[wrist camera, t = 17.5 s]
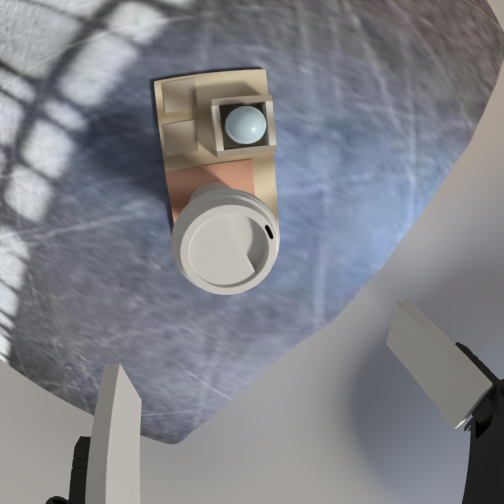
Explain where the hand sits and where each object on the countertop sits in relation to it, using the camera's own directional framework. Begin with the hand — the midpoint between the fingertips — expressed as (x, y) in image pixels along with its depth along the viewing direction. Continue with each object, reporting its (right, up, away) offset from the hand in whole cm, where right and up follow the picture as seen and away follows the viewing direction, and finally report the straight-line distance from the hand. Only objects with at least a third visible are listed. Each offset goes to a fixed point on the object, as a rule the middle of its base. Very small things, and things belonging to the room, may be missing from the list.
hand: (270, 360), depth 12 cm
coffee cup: (-6, +11, +24) cm, 27 cm away
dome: (-2, +20, +20) cm, 28 cm away
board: (-5, +17, +23) cm, 29 cm away
